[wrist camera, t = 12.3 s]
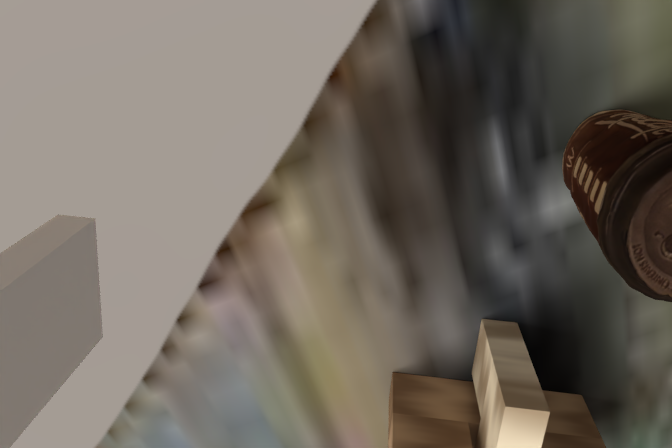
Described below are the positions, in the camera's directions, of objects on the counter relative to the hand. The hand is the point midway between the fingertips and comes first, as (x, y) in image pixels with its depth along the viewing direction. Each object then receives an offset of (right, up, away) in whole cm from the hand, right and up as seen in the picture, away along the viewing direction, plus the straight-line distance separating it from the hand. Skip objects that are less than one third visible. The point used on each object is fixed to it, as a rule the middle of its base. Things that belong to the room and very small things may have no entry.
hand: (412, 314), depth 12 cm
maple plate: (+10, -11, +34) cm, 37 cm away
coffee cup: (+16, +6, +27) cm, 32 cm away
